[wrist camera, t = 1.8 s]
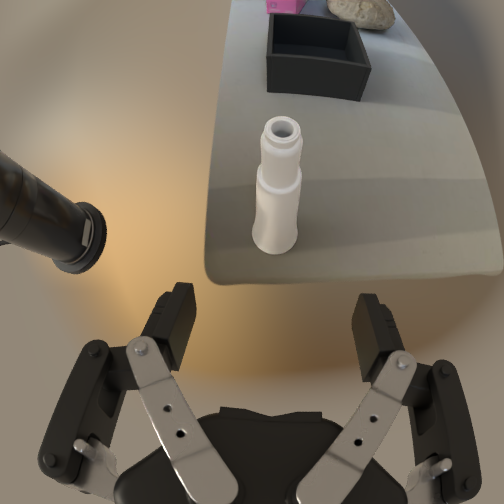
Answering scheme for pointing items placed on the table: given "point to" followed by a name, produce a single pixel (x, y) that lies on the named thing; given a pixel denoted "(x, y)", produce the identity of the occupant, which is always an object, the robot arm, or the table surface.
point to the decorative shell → (364, 12)
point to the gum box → (285, 6)
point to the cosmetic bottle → (278, 186)
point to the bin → (316, 56)
